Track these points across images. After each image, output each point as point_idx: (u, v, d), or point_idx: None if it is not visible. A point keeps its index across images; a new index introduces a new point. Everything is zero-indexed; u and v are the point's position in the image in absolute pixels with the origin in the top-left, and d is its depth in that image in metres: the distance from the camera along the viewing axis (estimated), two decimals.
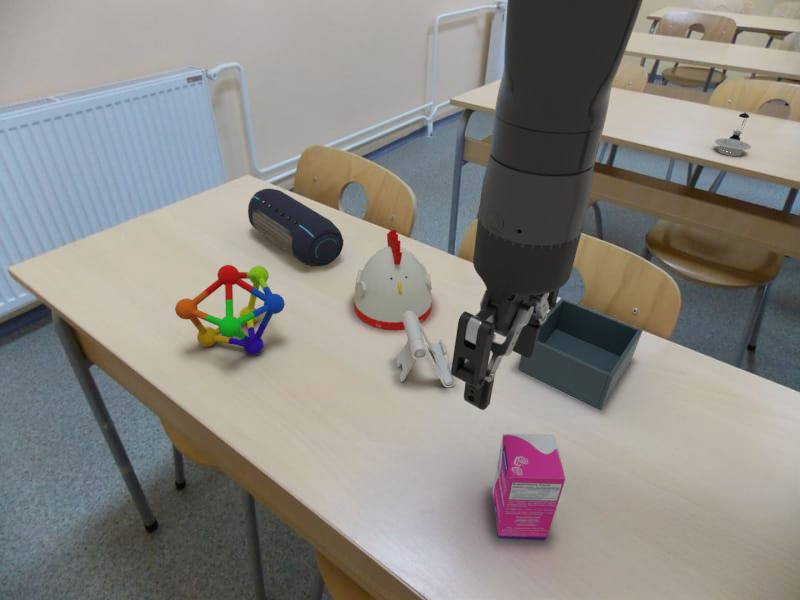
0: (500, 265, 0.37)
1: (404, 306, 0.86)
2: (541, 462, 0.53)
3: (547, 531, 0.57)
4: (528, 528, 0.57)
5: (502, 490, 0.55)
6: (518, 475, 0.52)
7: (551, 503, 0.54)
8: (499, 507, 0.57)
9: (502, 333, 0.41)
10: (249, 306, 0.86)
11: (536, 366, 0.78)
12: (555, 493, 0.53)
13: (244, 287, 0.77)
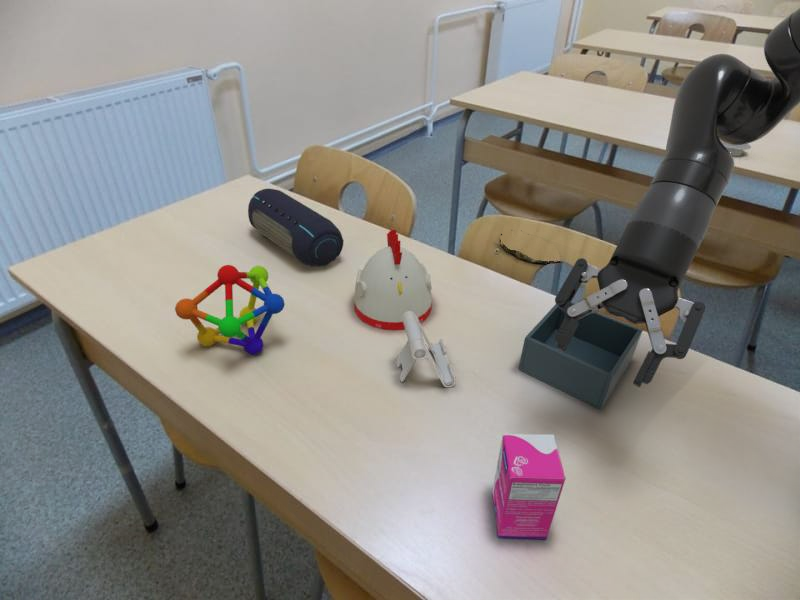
0: None
1: (404, 306, 0.86)
2: (541, 461, 0.53)
3: (547, 531, 0.57)
4: (528, 528, 0.57)
5: (502, 490, 0.55)
6: (518, 475, 0.52)
7: (551, 503, 0.54)
8: (499, 507, 0.57)
9: None
10: (249, 306, 0.86)
11: (536, 366, 0.78)
12: (555, 493, 0.53)
13: (244, 287, 0.77)
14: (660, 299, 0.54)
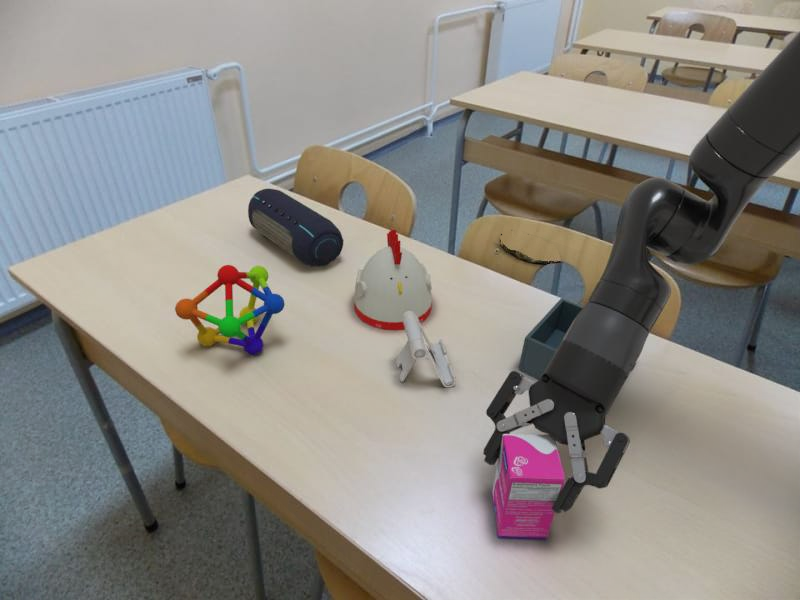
0: None
1: (404, 306, 0.86)
2: (541, 462, 0.53)
3: (547, 531, 0.57)
4: (528, 529, 0.57)
5: (502, 490, 0.55)
6: (518, 475, 0.52)
7: (551, 503, 0.54)
8: (499, 507, 0.57)
9: None
10: (249, 306, 0.86)
11: (536, 366, 0.78)
12: (555, 493, 0.53)
13: (244, 287, 0.77)
14: (585, 424, 0.53)
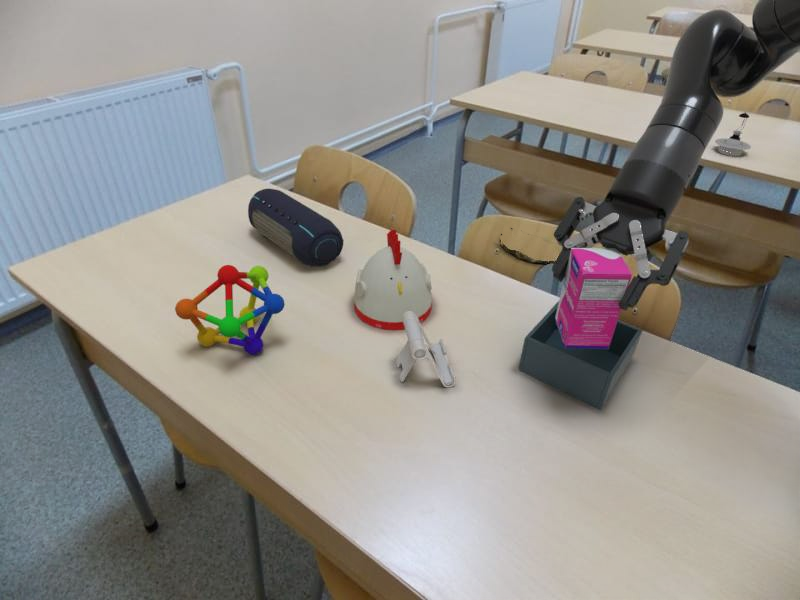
0: None
1: (404, 306, 0.86)
2: (609, 263, 0.59)
3: (610, 338, 0.63)
4: (593, 335, 0.63)
5: (571, 297, 0.62)
6: (589, 271, 0.58)
7: (617, 304, 0.60)
8: (567, 317, 0.63)
9: None
10: (249, 306, 0.86)
11: (536, 366, 0.78)
12: (621, 291, 0.59)
13: (244, 287, 0.77)
14: (648, 230, 0.59)
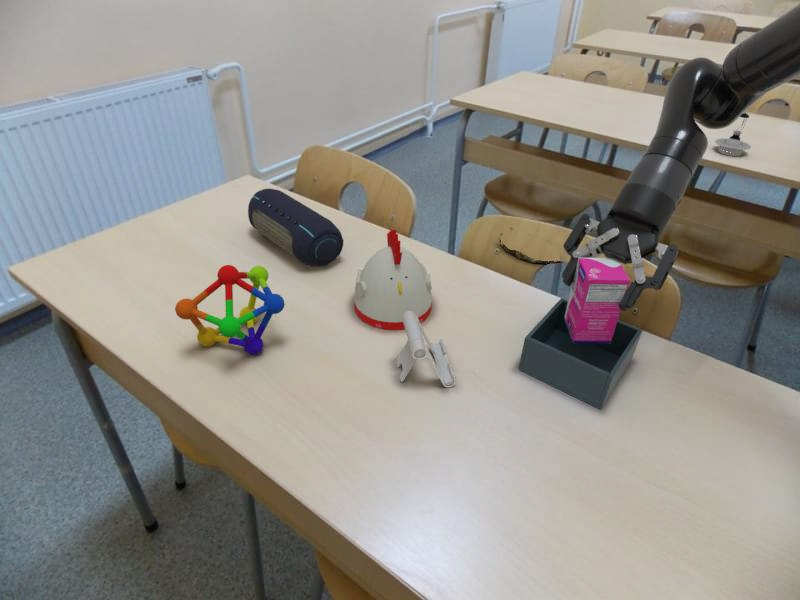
0: None
1: (404, 306, 0.86)
2: (610, 271, 0.70)
3: (611, 335, 0.74)
4: (597, 332, 0.74)
5: (578, 299, 0.73)
6: (594, 278, 0.69)
7: (617, 305, 0.71)
8: (574, 316, 0.74)
9: None
10: (249, 306, 0.86)
11: (536, 366, 0.78)
12: (621, 295, 0.70)
13: (244, 287, 0.77)
14: (644, 243, 0.70)
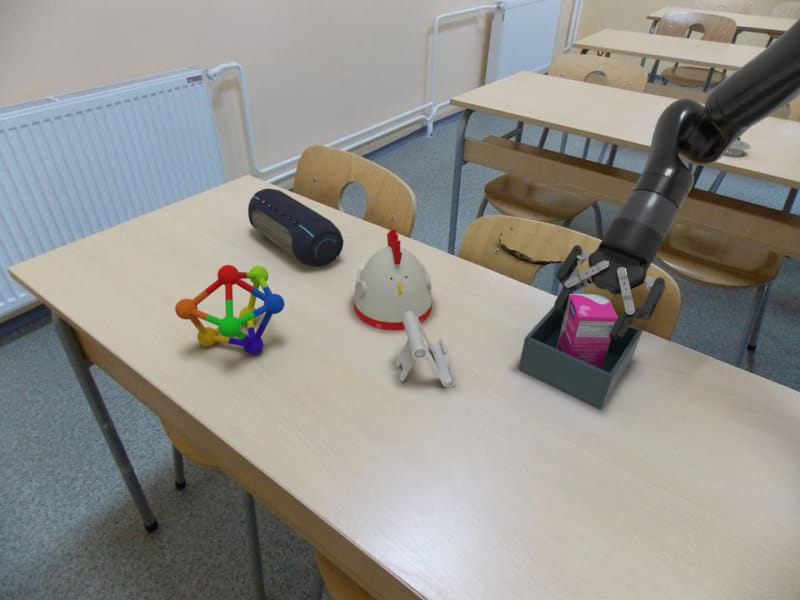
0: None
1: (404, 306, 0.86)
2: (599, 308, 0.74)
3: (601, 367, 0.78)
4: None
5: (569, 334, 0.76)
6: (584, 315, 0.73)
7: (606, 340, 0.75)
8: (565, 349, 0.78)
9: None
10: (249, 306, 0.86)
11: (536, 366, 0.78)
12: (609, 331, 0.74)
13: (244, 287, 0.77)
14: (632, 275, 0.73)
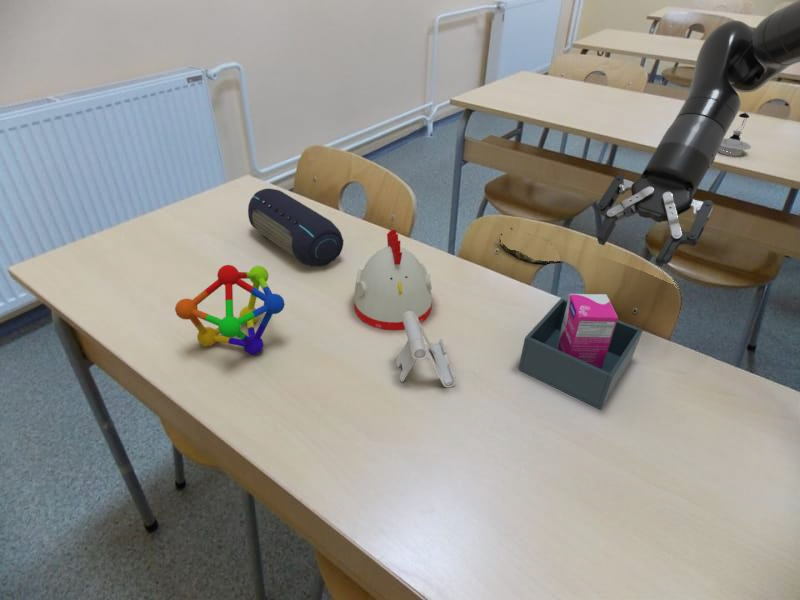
0: None
1: (404, 306, 0.86)
2: (599, 308, 0.74)
3: (601, 367, 0.78)
4: None
5: (569, 334, 0.76)
6: (584, 315, 0.73)
7: (606, 340, 0.75)
8: (565, 349, 0.78)
9: None
10: (249, 306, 0.86)
11: (536, 366, 0.78)
12: (609, 331, 0.74)
13: (244, 287, 0.77)
14: (679, 200, 0.72)
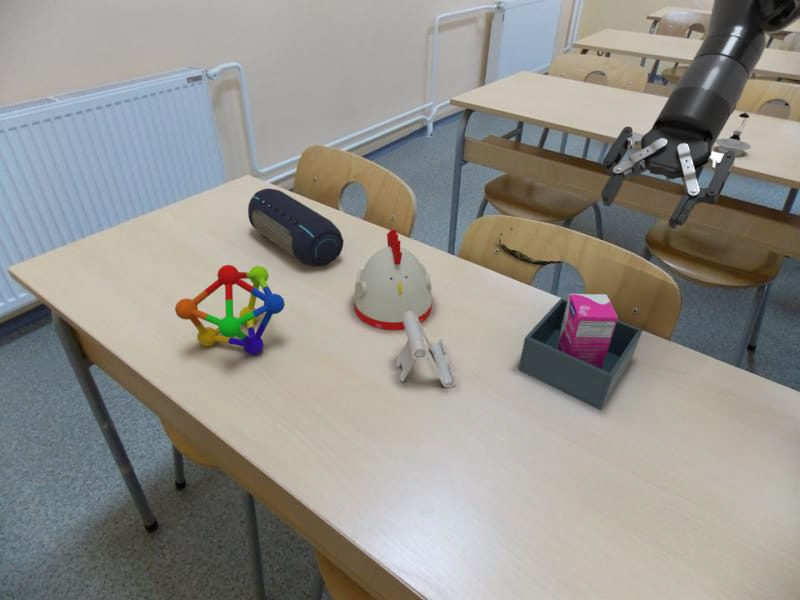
0: None
1: (404, 306, 0.86)
2: (599, 308, 0.74)
3: (601, 367, 0.78)
4: None
5: (569, 334, 0.76)
6: (584, 315, 0.73)
7: (606, 340, 0.75)
8: (565, 349, 0.78)
9: None
10: (249, 306, 0.86)
11: (536, 366, 0.78)
12: (609, 331, 0.74)
13: (244, 287, 0.77)
14: (695, 152, 0.63)
